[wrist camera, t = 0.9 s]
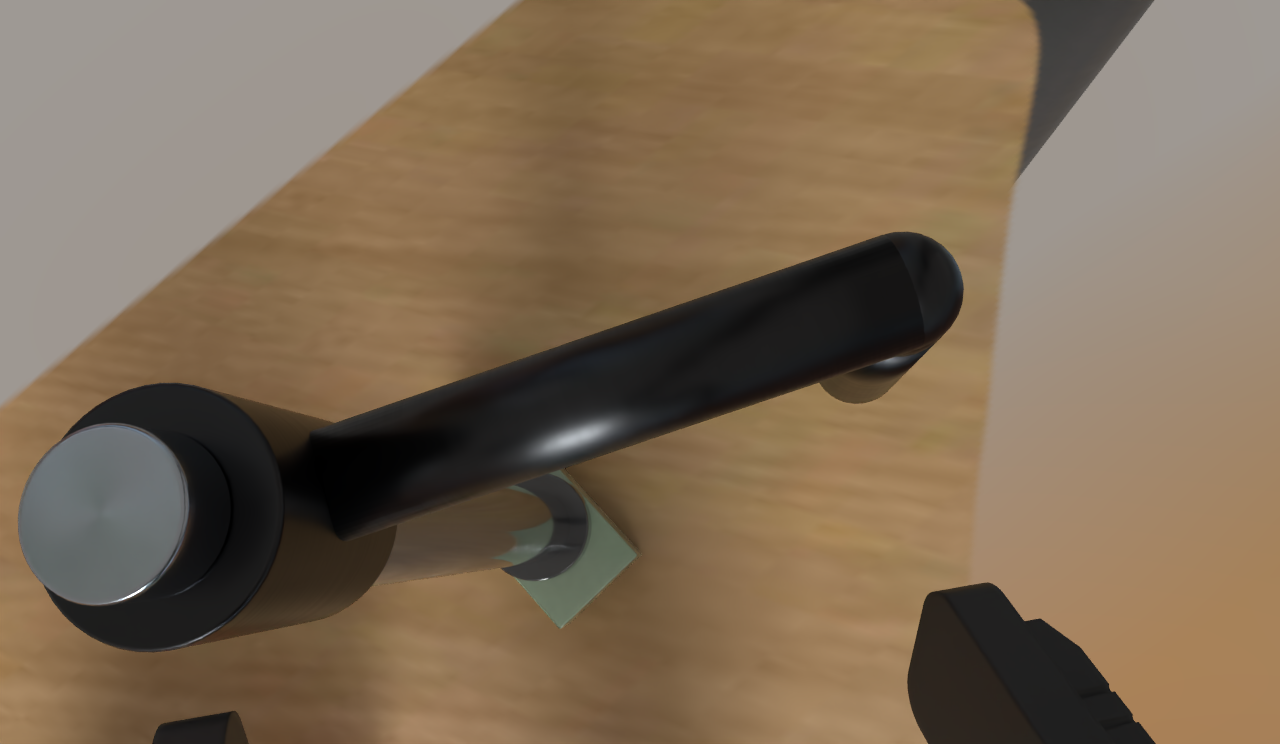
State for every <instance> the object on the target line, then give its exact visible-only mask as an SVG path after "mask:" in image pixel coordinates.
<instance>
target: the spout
mask: <svg viewBox="0 0 1280 744" xmlns="http://www.w3.org/2000/svg"><path fill="white" fill-rule="evenodd" d="M963 290H964V288H963V280H962V276H961V272H960V270H959V267H958V265H957V263H956V261H955V259H954V258H953V256H952V255H951V254H950V253H949V252H948V251H947V250H946V249H945V248H944V247H943V246H942V245H941V244H939V243H938V242H936V241H935V240H933V239H932V238H929V237H927V236H924V235H922V234H918V233H912V232H893V233H889V234H885V235H881V236H878V237H875V238H872V239H869V240H866V241H863V242H860V243H858V244H855V245H852V246H849V247H846V248H843V249H840V250H837V251H834V252H831V253H828V254H825V255H823V256H820V257H817V258H814V259H811V260H808V261H805V262H802V263H799V264H796V265H793V266H791V267H788V268H785V269H782V270H779V271H776V272H773V273H770V274H767V275H764V276H761V277H759V278H756V279H753V280H750V281H747V282H744V283H741V284H738V285H735V286H732V287H729V288H727V289H724V290H721V291H718V292H715V293H712V294H709V295H706V296H703V297H700V298H697V299H694V300H692V301H689V302H686V303H683V304H680V305H677V306H674V307H671V308H668V309H665V310H662V311H660V312H657V313H654V314H651V315H648V316H645V317H642V318H639V319H636V320H633V321H630V322H628V323H625V324H622V325H619V326H616V327H613V328H610V329H607V330H604V331H601V332H598V333H596V334H593V335H590V336H587V337H584V338H581V339H578V340H575V341H572V342H569V343H566V344H563V345H561V346H558V347H555V348H552V349H549V350H546V351H543V352H540V353H537V354H534V355H531V356H529V357H526V358H523V359H520V360H517V361H514V362H511V363H508V364H505V365H502V366H499V367H497V368H494V369H491V370H488V371H485V372H482V373H479V374H476V375H473V376H470V377H467V378H465V379H462V380H459V381H456V382H453V383H450V384H447V385H444V386H441V387H438V388H435V389H432V390H430V391H427V392H424V393H421V394H418V395H415V396H412V397H409V398H406V399H403V400H400V401H398V402H395V403H392V404H389V405H386V406H383V407H380V408H377V409H374V410H371V411H368V412H366V413H363V414H360V415H357V416H354V417H351V418H348V419H345V420H342V421H339V422H336V423H333V422H330V421H326V420H322V419H319V418H315V417H311V416H307V415H304V414H300V413H296V412H292V411H289V410H285V409H281V408H277V407H274V406H270V405H266V404H262V403H259V402H255V401H251V400H247V399H244V398H240V397H236V396H232V395H229V394H225V393H221V392H217V391H214V390H210V389H206V388H202V387H199V386H195V385H189V384H182V383H158V384H150V385H144V386H141V387H137V388H133V389H130V390H127V391H125V392H122V393H120V394H118V395H115V396H113V397H111V398H109V399H108V400H106V401H104V402H102V403H101V404H99V405H97V406H96V407H95V408H93V409H92V410H91V411H89V412H88V413H87V414H85V415H84V416H83V417H82V418H81V419H80V420H79V421H78V422H77V423H76V424H75V425H73V426H72V427H71V429H70V430H69V431H68V432H67V433H66V435H65V436H64V437H63V438H62V439H61V441H59V442H58V443H57V444H55V445H54V446H53V447H52V448H51V449H50V450H49V451H48V452H47V453H45V455H44V456H43V457H42V458H41V459H40V461H39V462H38V463H37V465H36V466H35V468H34V469H33V471H32V473H31V474H30V476H29V478H28V480H27V483H26V485H25V488H24V491H23V493H22V497H21V501H20V506H19V514H18V532H19V539H20V544H21V548H22V551H23V554H24V556H25V559H26V561H27V563H28V565H29V567H30V568H31V570H32V572H33V573H34V574H35V576H36V577H37V578H38V579H39V581H40V582H42V583H43V584H44V587H45V589H46V590H47V592H48V594H49V596H50V597H51V599H52V601H53V602H54V604H55V605H56V606H57V607H58V609H59V610H60V611H61V612H62V614H63V615H64V616H65V617H66V618H67V619H68V620H69V621H70V622H72V623H73V624H74V625H75V626H76V627H77V628H79V629H80V630H82V631H83V632H85V633H86V634H87V635H89V636H90V637H92V638H94V639H96V640H98V641H100V642H102V643H104V644H107V645H110V646H113V647H116V648H119V649H123V650H129V651H135V652H161V651H170V650H175V649H180V648H185V647H190V646H195V645H200V644H205V643H209V642H214V641H219V640H224V639H229V638H234V637H239V636H244V635H249V634H254V633H258V632H263V631H268V630H273V629H278V628H283V627H288V626H293V625H298V624H302V623H307V622H312V621H316V620H320V619H324V618H327V617H329V616H332V615H334V614H336V613H338V612H340V611H342V610H344V609H345V608H347V607H349V606H350V605H352V604H353V603H354V602H355V601H357V600H358V599H359V598H360V597H362V596H363V595H364V594H365V593H366V592H367V591H368V590H369V589H370V587H371V586H372V585H373V584H374V582H375V581H376V580H377V579H378V577H379V575H380V574H381V572H382V570H383V569H384V567H385V565H386V563H387V561H388V559H389V556H390V554H391V551H392V548H393V545H394V541H395V536H396V531H397V524H400V523H403V522H406V521H409V520H412V519H415V518H418V517H421V516H424V515H427V514H430V513H433V512H436V511H439V510H442V509H445V508H448V507H451V506H454V505H457V504H460V503H463V502H466V501H469V500H472V499H475V498H477V497H480V496H483V495H486V494H489V493H492V492H495V491H498V490H501V489H504V488H507V487H510V486H513V485H516V484H519V483H522V482H525V481H528V480H531V479H534V478H537V477H540V476H543V475H546V474H549V473H552V472H555V471H558V470H561V469H564V468H567V467H569V466H572V465H575V464H578V463H581V462H584V461H587V460H590V459H593V458H596V457H599V456H602V455H605V454H608V453H611V452H614V451H617V450H620V449H623V448H626V447H629V446H632V445H635V444H638V443H641V442H644V441H647V440H650V439H653V438H656V437H659V436H662V435H664V434H667V433H670V432H673V431H676V430H679V429H682V428H685V427H688V426H691V425H694V424H697V423H700V422H703V421H706V420H709V419H712V418H715V417H718V416H721V415H724V414H727V413H730V412H733V411H736V410H739V409H742V408H745V407H748V406H751V405H754V404H757V403H759V402H762V401H765V400H768V399H771V398H774V397H777V396H780V395H783V394H786V393H789V392H792V391H795V390H798V389H801V388H804V387H807V386H810V385H813V384H816V383H820V384H821V386H822V387H823V388H824V390H825V391H826V392H828V393H829V394H830V395H831V396H833V397H834V398H836V399H838V400H840V401H843V402H847V403H853V404H858V403H866V402H870V401H873V400H875V399H878V398H879V397H881V396H882V395H884V394H885V393H886V392H887V391H888V390H889V389H890V388H891V387H892V386H893V385H894V384H895V383H896V382H897V381H898V380H899V379H900V378H901V377H902V376H903V375H904V374H905V373H906V372H907V371H908V370H909V369H910V368H911V367H912V366H913V365H914V364H915V363H916V362H917V361H918V360H919V359H920V358H921V357H922V356H923V355H924V354H925V353H926V352H927V351H928V350H929V349H930V348H931V347H932V346H933V345H934V344H935V343H936V342H937V341H938V340H939V339H940V338H941V337H942V336H943V335H944V334H945V333H946V332H947V330H948V329H949V328H950V327H951V326H952V324H953V323H954V321H955V319H956V318H957V316H958V314H959V311H960V308H961V305H962V301H963Z"/></svg>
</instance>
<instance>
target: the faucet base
mask: <svg viewBox="0 0 1280 744" xmlns="http://www.w3.org/2000/svg"><path fill="white" fill-rule="evenodd" d="M641 555H642V554H641V552H640V551H639V550H638V549H637V548H636V547H635V546H634V544H633V543H632V542H631V541H630V540H629V539H628V538H627V537H626V536H625V535H624V533H623V532H622V531H621V530H620V529H619V528H618V527H617V526H616V525H615V524H614V522H613V521H612V520H611V519H610V518H609V517H608V516H607V515H606V514H605V513H604V512H603V510H602V509H601V508H600V507H599V506H598V505H597V504H596V503H595V502H594V501H593V499H592V498H591V497H590V496H589V495H588V494H587V493H586V492H585V491H584V490H583V489H582V487H581V486H580V485H579V484H578V483H577V482H576V481H575V480H574V479H573V478H572V476H571V475H570V474H569V473H568V472H567V471H566V470H565V469H561V470H558V471H555V472H552V473H549V474H546V475H543V476H540V477H537V478H534V479H531V480H528V481H525V482H522V483H519V484H516V485H513V486H510V487H507V488H504V489H501V490H498V491H495V492H492V493H489V494H486V495H483V496H480V497H477V498H475V499H472V500H469V501H466V502H463V503H460V504H457V505H454V506H451V507H448V508H445V509H442V510H439V511H436V512H433V513H430V514H427V515H424V516H421V517H418V518H415V519H412V520H409V521H406V522H403V523H400V524H397V531H396V536H395V541H394V545H393V548H392V551H391V554H390V556H389V559H388V561H387V563H386V565H385V567H384V569H383V570H382V572H381V574H380V575H379V577H378V579H377V580H376V581H375V582H374V584H373V585H372V586H379V585H386V584H393V583H400V582H407V581H414V580H421V579H428V578H435V577H442V576H449V575H456V574H463V573H470V572H477V571H484V570H491V569H498V568H501V569H502V570H503V571H505V572H506V573H508V574H509V575H511V576H513V577H514V578H515V579H516V580H517V581H518V582H519V583H520V584H521V586H522V587H523V588H524V589H525V590H526V591H527V592H528V594H529V595H530V596H531V597H532V598H533V599H534V600H535V602H536V603H537V604H538V605H539V606H540V607H541V608H542V610H543V611H544V612H545V613H546V614H547V615H548V616H549V618H550V619H551V620H552V621H553V622H554V623H555V624H556V626H557V627H558V628H559V629H561V628H563V627H565V626H567V625H569V624H570V623H571V622H572V621H573V620H574V619H575V618H576V617H577V616H578V615H579V614H581V613H582V612H583V611H584V610H585V609H586V608H587V607H588V606H589V605H590V604H591V603H592V602H593V601H594V600H595V599H596V598H597V597H598V596H599V595H600V594H602V593H603V592H604V591H605V590H606V589H607V588H608V587H609V586H610V585H611V584H612V583H613V582H614V581H615V580H616V579H617V578H618V577H619V576H620V575H621V574H623V573H624V572H625V571H626V570H627V569H628V568H629V567H630V566H631V565H632V564H633V563H634V562H635V561H636V560H637V559H638V558H639V557H640V556H641ZM372 586H371V587H372Z"/></svg>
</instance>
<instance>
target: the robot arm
mask: <svg viewBox="0 0 1280 744" xmlns="http://www.w3.org/2000/svg"><path fill="white" fill-rule="evenodd" d="M907 684H908V694H909V700H910V704H911V708H912V711H913V714H914V717H915V719H916V722H917V724H918V726H919V728H920V730H921V731H922V733H923V735H924V737H925V739H926V740H927V742H928V744H1155V742H1154V741H1153V740H1152V739H1151V737H1150V736H1149V735H1148V733H1147V732H1146V731H1145V730H1144V728H1143V727H1142V726H1141V724H1140V723H1139V722H1137V723H1136V722H1135V721H1134V720H1133V717H1132V713H1131V712H1130V710H1129V709H1128V708H1127V706H1126V705H1125V704H1124V703H1123V701H1122V700H1121V699H1120V698H1119V696H1118V695H1117V694H1116V692H1111V691H1110V689H1109V683H1108V682H1107V681H1106V680H1105V678H1104V677H1103V676H1102V675H1101V673H1100V672H1099V671H1098V669H1097V668H1096V667H1095V666H1094V664H1093V663H1092V662H1091V660H1090V659H1089V658H1088V657H1087V655H1086V654H1085V653H1084V651H1083V650H1082V649H1081V648H1080V647H1079V646H1078V645H1076V644H1075V643H1073V642H1072V641H1071V640H1069V639H1068V638H1066V637H1065V636H1063V635H1062V634H1061V633H1060V632H1058V631H1057V630H1055V629H1054V628H1052V627H1051V626H1050V625H1049V624H1047V623H1046V622H1045V621H1043V620H1042V619H1035V620H1030V621H1024V620H1023V619H1022V618H1021V617H1020V615H1019V614H1018V612H1017V611H1016V610H1015V608H1014V607H1013V605H1012V604H1011V603H1010V601H1009V600H1008V599H1007V597H1006V596H1005V595H1004V593H1003V592H1002V591H1001V590H1000V589H999V588H998V587H997V586H995V585H993V584H991V583H981V584H975V585H969V586H963V587H958V588H952V589H946V590H940V591H935V592H931V593H929V594H928V595H927V597H926V599H925V601H924V605H923V609H922V614H921V618H920V622H919V627H918V631H917V636H916V640H915V644H914V649H913V653H912V658H911V662H910V667H909V671H908V680H907ZM153 744H249V743H248V740H247V737H246V734H245V731H244V728H243V725H242V722H241V719H240V717H239V715H238V713H237V712H236V711H231V712H225V713H220V714H214V715H208V716H202V717H197V718H191V719H185V720H179V721H174V722H168V723H163V724H161V725H160V726H159V727H158V729H157V731H156V733H155V736H154V740H153Z"/></svg>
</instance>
